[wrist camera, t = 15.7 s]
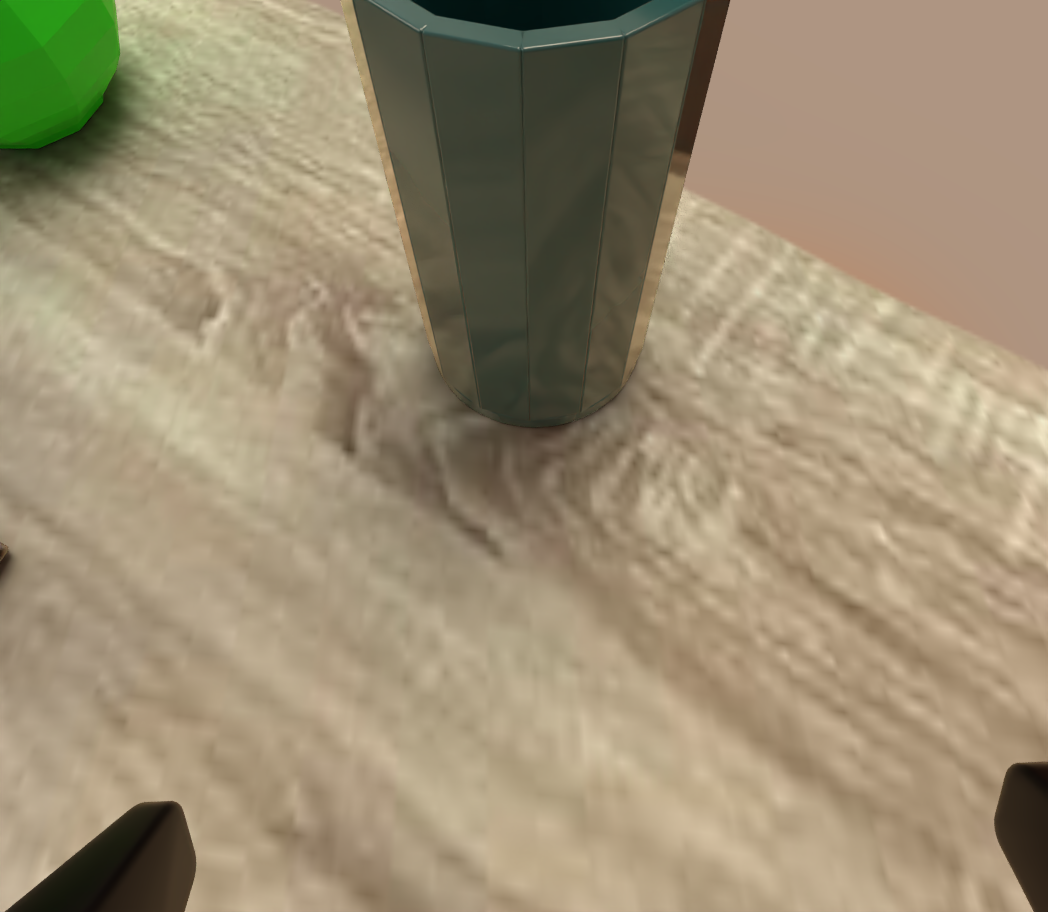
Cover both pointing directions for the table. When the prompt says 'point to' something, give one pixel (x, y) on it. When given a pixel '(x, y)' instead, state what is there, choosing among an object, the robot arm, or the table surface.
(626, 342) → the teal and beige cup
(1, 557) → the cake pan box
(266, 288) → the table surface
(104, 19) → the plastic bottle
